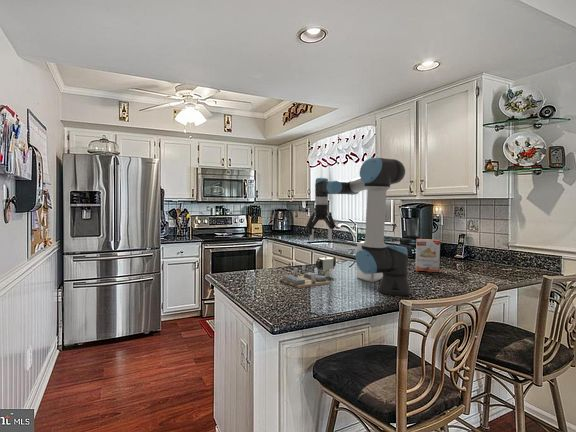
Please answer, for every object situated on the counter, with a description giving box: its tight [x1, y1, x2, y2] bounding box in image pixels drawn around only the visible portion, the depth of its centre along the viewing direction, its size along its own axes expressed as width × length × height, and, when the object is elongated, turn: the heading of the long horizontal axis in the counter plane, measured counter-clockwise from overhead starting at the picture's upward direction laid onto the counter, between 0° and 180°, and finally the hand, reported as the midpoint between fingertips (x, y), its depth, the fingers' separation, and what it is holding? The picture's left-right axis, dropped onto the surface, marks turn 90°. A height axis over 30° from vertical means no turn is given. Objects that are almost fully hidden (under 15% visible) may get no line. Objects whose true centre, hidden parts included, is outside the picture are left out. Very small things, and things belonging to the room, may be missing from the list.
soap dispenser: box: [356, 240, 383, 283], centre depth 199 cm, size 15×14×22 cm
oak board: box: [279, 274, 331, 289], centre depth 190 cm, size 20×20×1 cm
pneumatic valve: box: [315, 256, 337, 278], centre depth 205 cm, size 6×12×12 cm, turn 119°
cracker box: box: [415, 238, 441, 273], centre depth 222 cm, size 14×6×21 cm, turn 73°
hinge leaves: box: [282, 267, 327, 284], centre depth 190 cm, size 20×19×5 cm
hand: (320, 239), depth 204 cm, fingers open, 13 cm apart
